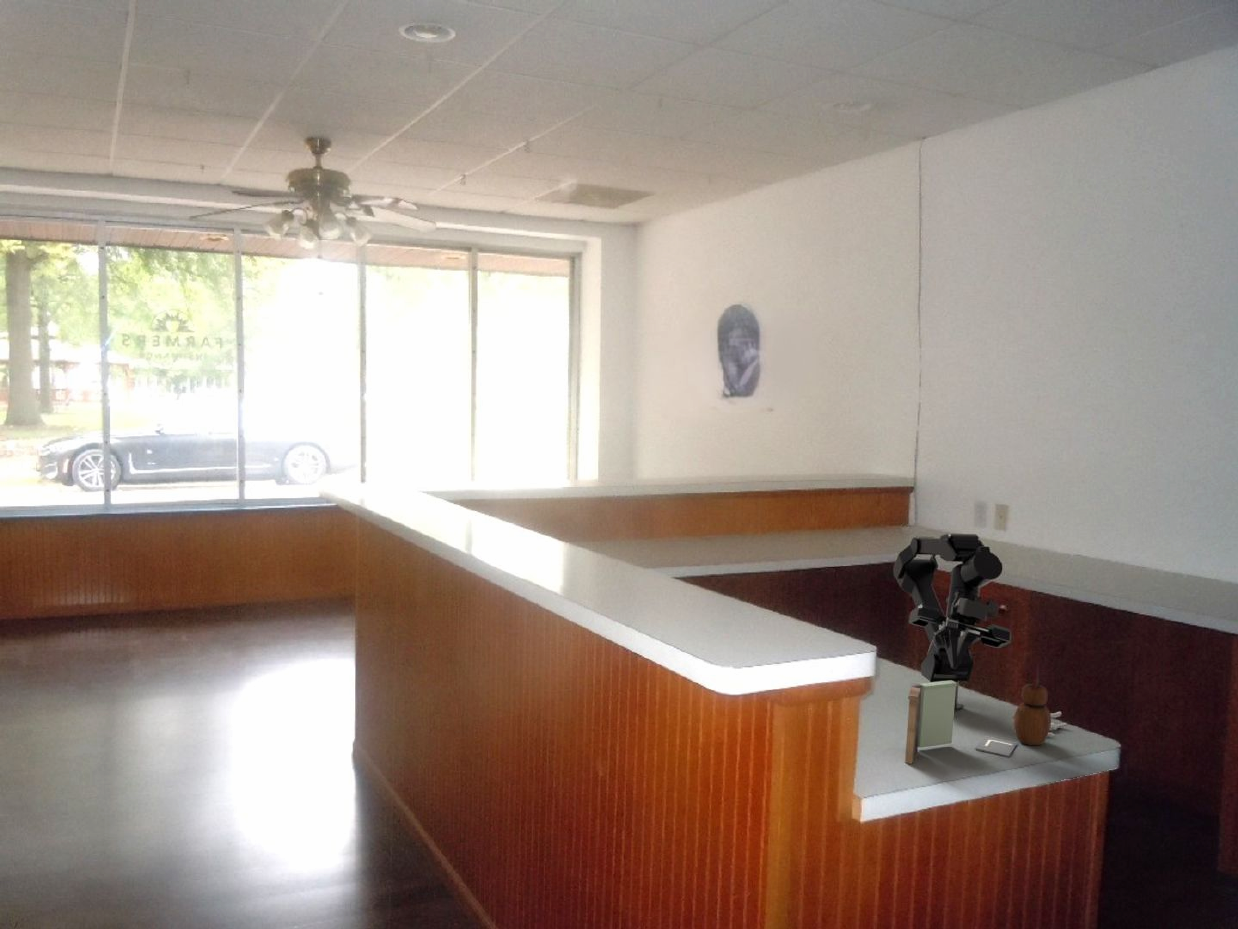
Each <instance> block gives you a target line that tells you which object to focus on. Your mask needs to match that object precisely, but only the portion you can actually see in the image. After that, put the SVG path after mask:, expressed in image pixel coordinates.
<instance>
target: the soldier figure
mask: <svg viewBox="0 0 1238 929" xmlns="http://www.w3.org/2000/svg"><path fill="white" fill-rule="evenodd" d="M1050 715H1051V718H1053V719H1055V718H1058V717H1061V716H1062V712H1061V711H1057V712H1054V713H1050ZM1011 717H1012V721H1014V717H1015V716H1011ZM1067 726H1068V723H1066V722H1064V723H1059V724H1058V723H1057V724H1056V723H1055V722H1051V727H1050V730H1054V731H1056V730H1057V729H1065V728H1066V727H1067ZM1047 737H1048V738H1051V737H1054V733H1053V732H1049V733H1048V735H1047Z"/></svg>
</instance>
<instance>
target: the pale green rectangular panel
mask: <svg viewBox="0 0 1238 929" xmlns="http://www.w3.org/2000/svg"><path fill="white" fill-rule="evenodd" d="M919 684H920V685H922V696H921V710H920V723H919V737H918V749H919V748H927V747H934V746H940V745H942V746H943V745H949V744H952V743H953V733H954V732H953V730H954V718H955V711H954V706H955V693H956V687H957V683H956V682H954V681H952V680H949V681H940V682H931V683H930V682H925V683H924V682H923V683H919Z"/></svg>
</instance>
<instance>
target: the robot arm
mask: <svg viewBox="0 0 1238 929" xmlns="http://www.w3.org/2000/svg"><path fill="white" fill-rule="evenodd" d="M979 538H980V537H979V536H978V535H977V534H976V533H945V534H942V535H940V537H934V536H922V535H921V536H920V535H919V536H915V537H912V539H911V541H910V543H909V545H908V546H907V547H905V548H904V549H902V551H900V552H899V553H898V555H897V557H896V559H895V562H894V565H893V570H892V571H893V577H894V578H895V580H896V582H897V584H898V585H899V587H900V589H902V590H903V591H904V592H906V593H907V594H909V595H910V596H911V597H912V601H913V603H914V605H915V608H914V609H912V610H911V611H910V614H909V617H908V624H910V625H913V626H917V627H919V628H920V627H921V628H924V631H925V634H926V636H927V640H928V641H929V648H928V651H927V653H926V657H925V658H924V659H923V661H922V662H921V664H920V671H921V672H920V673H921V674H920V675H921V676H923V677H924V678H925V679H926V680H928V681H929V683H931V682H940V681H949V680H952V681H954V682H956V683H957V687H956V693H955V706H954V712H956V711H959V710H961V709H964V707H965V705H964V704H962V703H958V698H959V696H958V695H959V683H960V682H969V681H970V677H971V673H972V670H973V667H974V658H973V655H972V653H971V651H970V649H971V648H970V646H971V645H972V644H975V643H976V642H978V641H980V642H981V644H982V645H984V646H988V647H991V648H994V649H1000V648H1003V647H1005V646H1007V645H1009V644H1010V643H1011V642H1012V632H1011V630H1010V629H1009V628H1008V627H1003V626H1002V625H1001V626H1000V625H997V624H993V623H992V624H990V625H988V626H986V627H982V626H979V625H977V624H980V623H982V621H983V622H986V621H987V618H990V619H992V620H993V619H994V620H996V618H997V616H998V613H999V603H998V602H996V601H991V600H986V602H985V603H982V597H981V596H980V591H981V588H982V587H984V586H986V585H988V584H990V583H991V582H993V581H994V580H996V579H997V578H999V577H1000V576H1001V574H1002V572H1003V563H1002V561H1001V560H1000V559H999V557H998V556H997V555H996V554H995V553H993V552H991V549H990V546H985V544H983V542H982V540H981V539H979ZM917 555H926V556H928V555H931V556H930V557H929V559H928V558H916V557H917ZM936 556H939V558H940V559H941V560H944V561H945V562H952V563H953V562H954V563H955V562H957V563H960V564H956V566H954V567H953V568H952V570H951V571H950V573H949V576H950V583H949V591H948V597H946V598H945V599H946V600H945V604H947V605H946V612H945V614H944V611H943V609H942V607H941V604H940V602H939V600H938V597H937V594H936V592H935V589H934V588H933V583H934V580H935V577H936V572H937V571H938V567H939V564H938V561H937V558H936Z"/></svg>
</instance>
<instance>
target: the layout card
mask: <svg viewBox="0 0 1238 929" xmlns="http://www.w3.org/2000/svg"><path fill="white" fill-rule="evenodd" d="M1016 744H1018V742H1016V741H1011V740H1005V739H1002V738H997V737H993V736H988V735H983V737H982V738H981V739H980V741H979V742H978V744H977V745H976V747H974V750H975V749H976V751H979V752H983V751H984V752H983V753H988V754H993V755H997V754H999V755H998V756H1001V755H1003V756H1002V757H1005V756H1006V757H1007V758H1010V756H1011V755H1012V753H1013V751H1014V750H1015V748H1016V746H1017V745H1016ZM1013 749H1014V750H1013ZM1010 754H1011V755H1010ZM1006 757H1005V758H1006Z"/></svg>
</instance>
